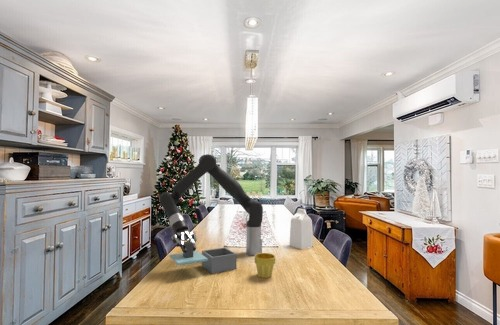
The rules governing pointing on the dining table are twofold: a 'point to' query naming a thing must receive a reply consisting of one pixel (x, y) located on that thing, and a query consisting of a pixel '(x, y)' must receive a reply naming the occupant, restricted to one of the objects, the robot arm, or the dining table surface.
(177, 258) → the lid
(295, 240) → the milk
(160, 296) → the dining table surface
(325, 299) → the dining table surface
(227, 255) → the tub
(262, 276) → the plant pot
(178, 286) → the dining table surface
